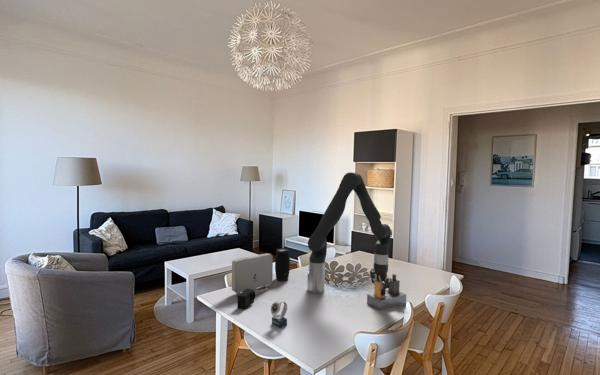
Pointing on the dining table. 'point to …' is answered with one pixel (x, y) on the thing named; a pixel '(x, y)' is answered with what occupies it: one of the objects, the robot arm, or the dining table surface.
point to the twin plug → (394, 285)
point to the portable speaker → (282, 264)
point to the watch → (279, 319)
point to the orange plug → (378, 290)
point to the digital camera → (246, 298)
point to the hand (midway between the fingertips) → (379, 293)
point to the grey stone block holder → (386, 300)
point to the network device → (252, 272)
